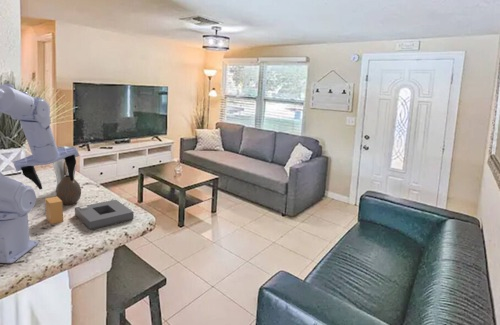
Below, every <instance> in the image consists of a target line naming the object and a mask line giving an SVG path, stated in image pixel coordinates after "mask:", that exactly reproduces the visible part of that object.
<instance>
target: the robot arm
mask: <svg viewBox="0 0 500 325" xmlns="http://www.w3.org/2000/svg"><path fill="white" fill-rule="evenodd" d="M50 107H51V106H50V103H48V102H47V101H46V100H45V99H43V98H42V97H39V96H38V97H37V96H32V95H29V92H27V91H24V90H22V91H20V90H18V89H16V88H15V85H13V84H11V83H3V84H0V113H2V114H5V115H8V116H10V118H11V119H12V120H14V121H15V120H18V121H19V124H20V127H21V129H22V131H23V133H24V135H25V139H26V141H27V144H28V146H29V149H30V151H31V154H30V155H28V156H26V157H23V158H20V159H18V160H14V161H13V166H14V168H15V170H16V172H19V171H22V175H23V176H24V177H25V178H27V179H29V180H30V181H31V182H33V184H35V185H36V187H38V189H39V190H43V185H42V181H41V179H40V178H39V175H38V174H37V171H36V168H35V166H47V165H51V164H53V163H54V162H56V161H59V160H61V159H65V162H66V165H67V169H68V173H69V177H70V180H71V181H73V171H74V167H75V165H76V166H77V158H79V157H80V154H79V151H78V148H77V146H73V147H74V148H63V149H57V143H56V141H55V136H54V133H53V131H52V128H51V116H50V113H51V108H50ZM75 157H76V159H75ZM36 201H37V195H36V192H35V190H34V188H33V187H32V186H30V185H25V184H24V183H23V182H22V181H20V180H17V179H15V178H11V177H9V176H6V175H4V174H3V173H2V172H1V171H0V263H1V264H13V263H15V262H16V261H17V260H18V259H20V258H22V256H24V255H25V254H26V253H28V252H29V251H31V250H32V249H33V248H34V247H35V246H37V245H38V244H40V241H39V240H33V239H30V238H31V237H30V228H29V215H28V214H29V213H30V212H31V211H32V209H33V208H34V206H35V204H36Z"/></svg>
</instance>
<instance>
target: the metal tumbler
mask: <svg viewBox="0 0 500 325" xmlns="http://www.w3.org/2000/svg"><path fill="white" fill-rule="evenodd" d="M56 146H57V145H56ZM74 147H75V146H71V145H61V146H60V145H59V146H57V149H63V148H74ZM75 159H76V160H77V157H75ZM52 164H53V165H52V166H53V170H54V173H55V177H56V188H55V190H56V189H57V186H58V184H59V183H60V181H61V180H62V179H63V177H64V176H66V175H69V173H68V169H67V165H66V162H65V159H61V160H59V161H56V162H54V163H52ZM76 167H77V164H76V165H75V167H74V171H73V178H74V179H75V175H76V174H75V173H76Z"/></svg>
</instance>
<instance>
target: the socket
mask: <svg viewBox="0 0 500 325" xmlns="http://www.w3.org/2000/svg"><path fill="white" fill-rule="evenodd" d="M134 214H135V212H134V211H133V210H131V209H130V208H129V207H127V206H126V205H124V204H123V203H122V202H121V201H119V200H117V199H112V200H108V201H107V200H105V201H101V202H95V203H92V204H87V205H86V204H85V205H80V206H75V207H74V216H76V218H77V219H79V221H80V222H82V224H84V226H86V228H88V229H89V231H93V230H96V229H100V228H105V227H109V226H112V225H116V224H122V223H126V222H129V220H130V221H133V220H132V219H134ZM125 221H126V222H125ZM121 222H122V223H121Z"/></svg>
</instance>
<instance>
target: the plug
mask: <svg viewBox="0 0 500 325" xmlns="http://www.w3.org/2000/svg"><path fill="white" fill-rule="evenodd" d="M44 200H45V214H46V215H45V216H46V220H47V222H49V223H50V225H55V224H59V223H63V222H64V207H63V204H62V201H61V200H60V199H59V198H58V197H57V196H51V197H47V198H46V197H45V199H44Z"/></svg>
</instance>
